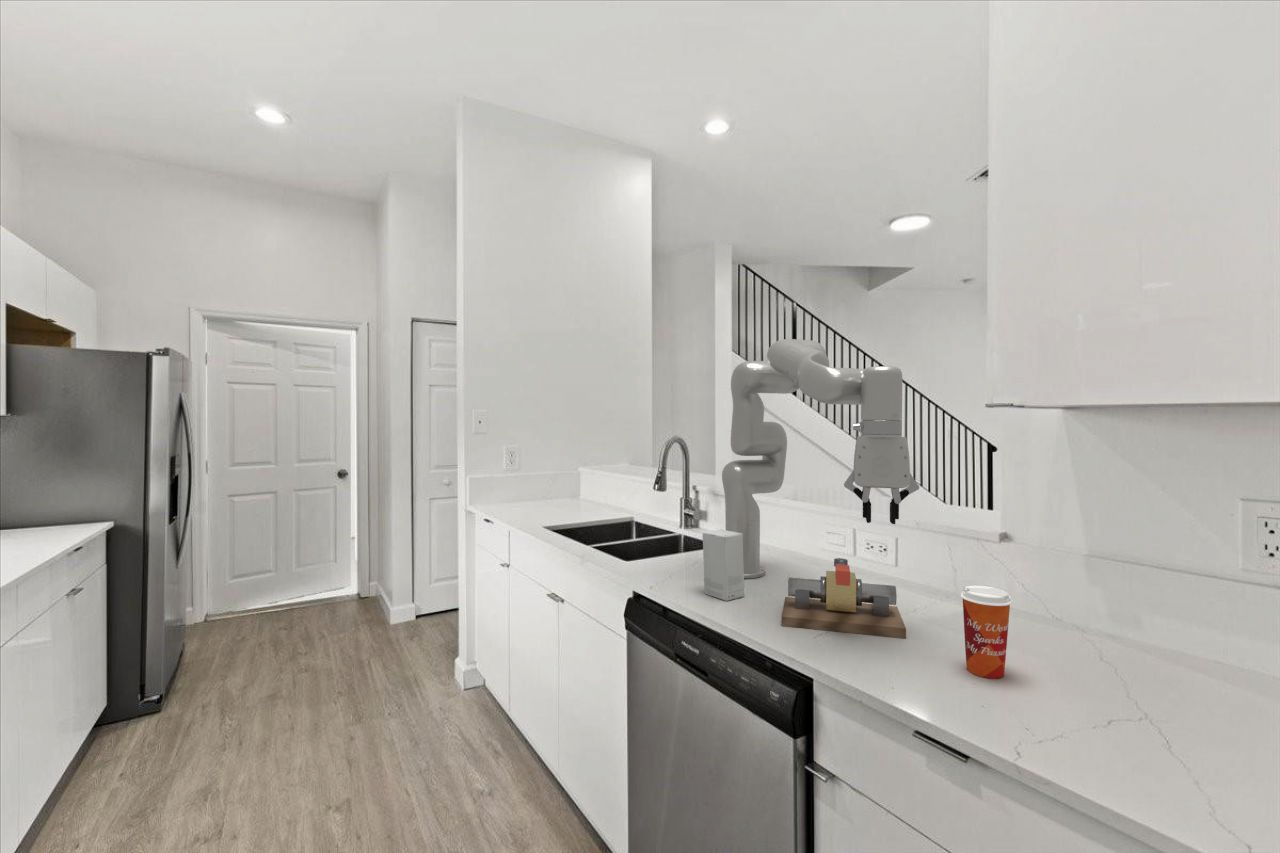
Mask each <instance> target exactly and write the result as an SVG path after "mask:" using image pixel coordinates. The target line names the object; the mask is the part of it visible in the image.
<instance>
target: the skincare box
mask: <svg viewBox="0 0 1280 853" xmlns="http://www.w3.org/2000/svg"><path fill="white" fill-rule="evenodd" d="M702 552H703V553H702V554H703V584H704V586H703V587H704V590H703V591H704V594H706V595H708V596H711V597H713V598H717V599H720V600H723V601H725V602H729V601H733V600H738V599H741V598H743V597H744V596H745V578H744V562H743V534H742V533H737V532H732V531H727V530H726V529H722V528H721V529H715V530H710V531H704V532H702Z"/></svg>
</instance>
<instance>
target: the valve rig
mask: <svg viewBox="0 0 1280 853" xmlns="http://www.w3.org/2000/svg"><path fill="white" fill-rule="evenodd" d="M787 582H788V585H787V593H788V594H787V596H785V598H784V601H783V608H782V611H781V626H782V627H788V628H789V627H790V628H796V629H797V628H800V629H809V630H817V631H819V630H820V631H829V632H837V633H839V632H840V633H849V634H857V635H867V636H877V637H887V638H897V639H898V638H899V639H907V627H906V625H905V623H904V620H903V618H902V615H901V612H900V611H899V607H898V606H896V605H897V596H898V595H897V586H896V585H892V584H877V583H867V582H866V583H864V582H862V579H861V578H856V573H855V572H852V571H850V586H844V585H836V578H835V570H834V571H833V570H825V576H822V575H820V579H814V578H801V577H788V580H787Z"/></svg>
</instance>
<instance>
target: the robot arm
mask: <svg viewBox="0 0 1280 853" xmlns="http://www.w3.org/2000/svg"><path fill="white" fill-rule="evenodd" d="M766 358H767V360H749V361H748V360H747V361H743V362H740V363H739V364H738V365H736V366H735V367H734V369H733V370H732V373H731V378H730V391H731V397H732V414H731V426H730V427H731V429H730V448H731V451H732V452H733V453H734V454H735V455H737V456H740V457H741V456H743V457H761V456H762V457H761V459H737V460H733V461H731V462H728V463H727V464H725V465H724V467H723V469H722V471H721V481H722V486H723V493H724V505H725V509H724V510H725V530H727V531H732V532H737V533H742V534H743V562H744V579H755V578H761V577H763V576H765V575H766V568H764V567H763V566H761V558H760V556H761V553H760V552H761V545H760V544H761V542H760V541H761V538H760V537H761V513H760V512H761V511H760V508H759V504H758V502H757V501H756V500H755V498H754V496H753V495H756V494H772V493H777V491H779V490H780V489H781V488H782V486H783V482H784V479H785V470H786V459H787V450H788V437H787V433H786V431H785V429H784V427H783V426H782V425H781V424H780V423H778V422H776V421H764V416H765V405H764V402H763V400H762V398H761V395H759V394H779V395H780V394H781V395H783V394H784V395H785V394H792V393H794V392H796V391H798V390H799V389H800V390H799V391H801V393H802V394H803V395H805V396H807V397H809V398H810V399H813V400H815V401H818V402H819V403H822V404H826V405H853V406H855V405H858V406H860V422H857V423H853V424H852V429H853V431H857V432H859V433H860V436H859V435H858V436H856V441H855V446H854V447H855V448H854V455H853V469H852V471H851V473H850V474H849V475H848V477H847V478H846V480H845V481H844V482H843V486H844V488H846V489H848V490H849V491H850V492H852V493H854V494H855V495H856V496H857V497H858V498H859V499H860V500H861V501H862V518H863V519H865V522H866V523H867V524H870V523H872V502H871V500H870V494H871V490H872V488H876V489H890V492H891V501H889V523H890V524H892V525H896V520H900V519H899V518H900V504H901V502H902V501H904V500H905V498H907V497H908V496H909V495H911V494H913V493H915V492H916V491H919V489H920V486H919V484H918V483H917V481H916V480H915V478H914V477H913V476H912V474H911V464H910V450H909V444H908V438H907V436H903V372H902V370H901V368H899V367H896V366H893V365H892V366H891V365H887V366H885V365H884V366H882V365H881V366H879V365H877V366H870V367H866V368H854V367H851V368H850V367H830V360H829V357H828V356H827V352H826V349H825V347H824V346H823V345H822V344H821V343H820V342H819V341H816V340H811V339H810V340H809V339H797V338H796V339H795V338H792V339H791V338H785V339H780V340H777V341H775V342H774V343H772V344H771V345H770V346H769V348H768V350H767V353H766ZM854 484H855V485H857V486H858V487H857V486H855V485H854ZM859 487H861V488H862V490H861V488H859ZM900 489H901V490H900Z"/></svg>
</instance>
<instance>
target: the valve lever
mask: <svg viewBox="0 0 1280 853" xmlns="http://www.w3.org/2000/svg"><path fill="white" fill-rule="evenodd" d="M848 562H849V561H848V559H846V558H840V557H839V558H837V557H836V558H833V566H834V567H835V570H834V571H835V578H836V585H844V586H850V572H851V570H850V565H848V564H849V563H848Z"/></svg>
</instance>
